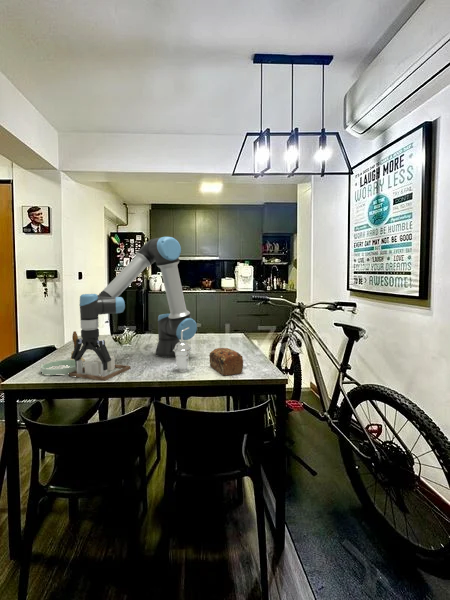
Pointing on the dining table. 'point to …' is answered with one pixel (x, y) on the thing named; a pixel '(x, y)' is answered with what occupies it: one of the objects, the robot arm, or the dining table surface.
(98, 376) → the tray
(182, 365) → the cup with straw
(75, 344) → the hand bell
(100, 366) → the white block
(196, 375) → the dining table surface
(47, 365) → the bowl
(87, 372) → the white rectangular block
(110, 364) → the white upright block
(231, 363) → the bread
